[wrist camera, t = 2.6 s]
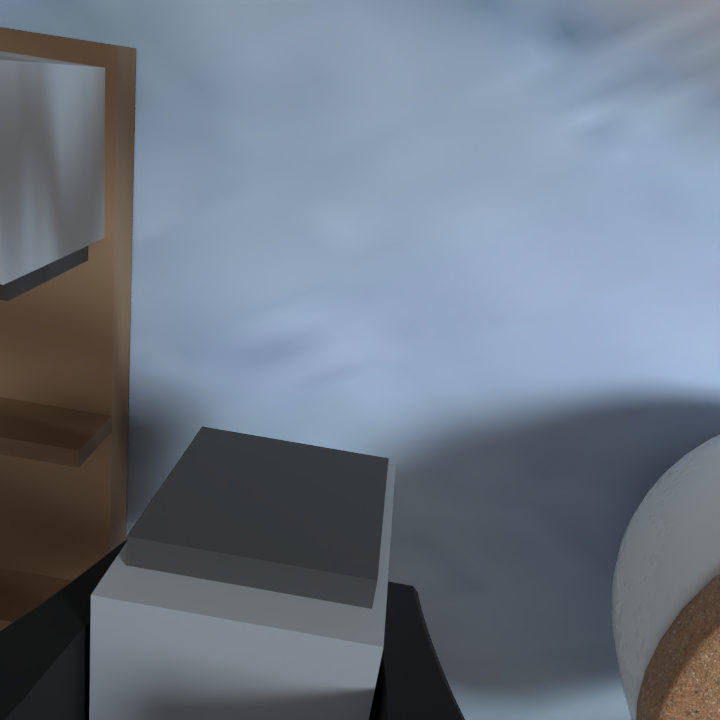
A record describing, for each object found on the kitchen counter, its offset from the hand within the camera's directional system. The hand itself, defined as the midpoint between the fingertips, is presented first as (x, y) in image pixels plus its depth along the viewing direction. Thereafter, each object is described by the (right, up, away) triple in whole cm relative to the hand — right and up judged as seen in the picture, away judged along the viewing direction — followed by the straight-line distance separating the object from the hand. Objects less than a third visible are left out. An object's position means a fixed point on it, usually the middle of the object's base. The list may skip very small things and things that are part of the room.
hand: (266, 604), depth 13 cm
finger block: (0, +1, +2) cm, 2 cm away
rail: (-7, +5, +7) cm, 11 cm away
